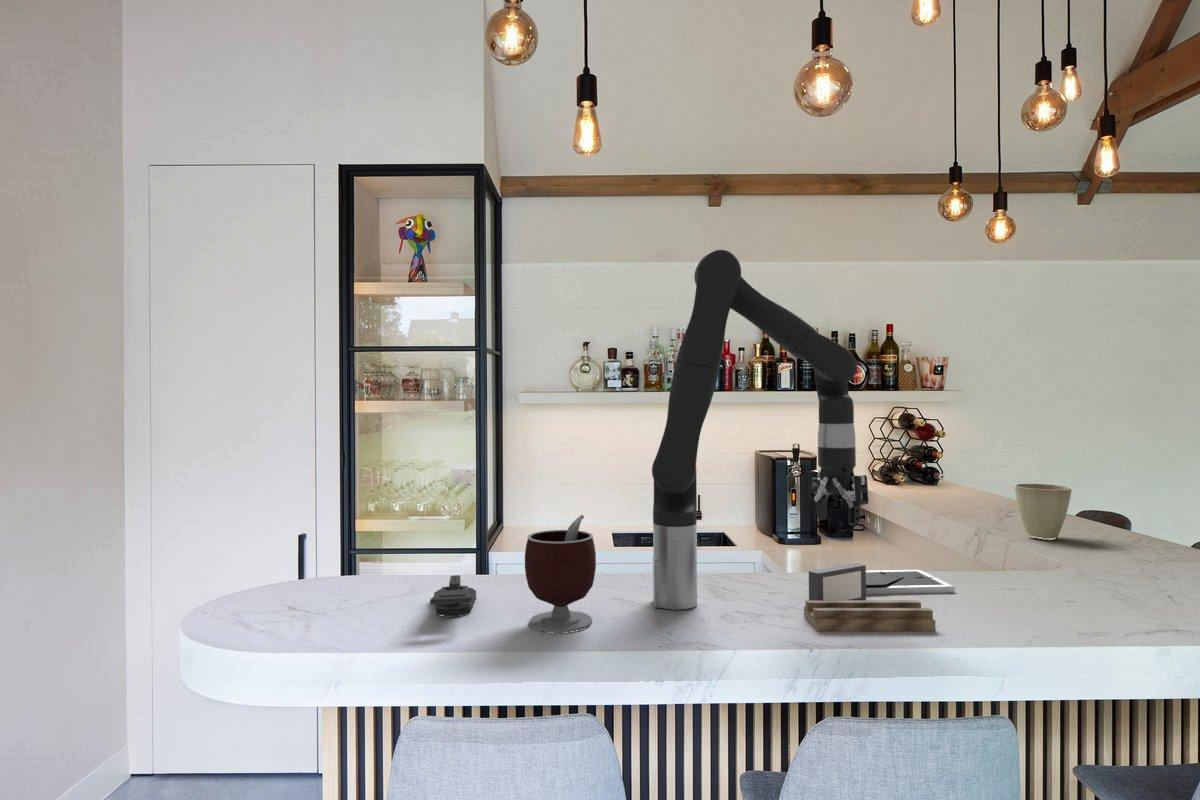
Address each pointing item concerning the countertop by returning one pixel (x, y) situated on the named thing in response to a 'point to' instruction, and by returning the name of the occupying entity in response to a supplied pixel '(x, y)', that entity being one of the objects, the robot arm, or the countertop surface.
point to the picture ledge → (870, 624)
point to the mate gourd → (560, 575)
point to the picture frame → (904, 582)
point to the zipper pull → (454, 598)
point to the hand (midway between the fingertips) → (837, 522)
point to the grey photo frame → (838, 583)
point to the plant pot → (1042, 508)
